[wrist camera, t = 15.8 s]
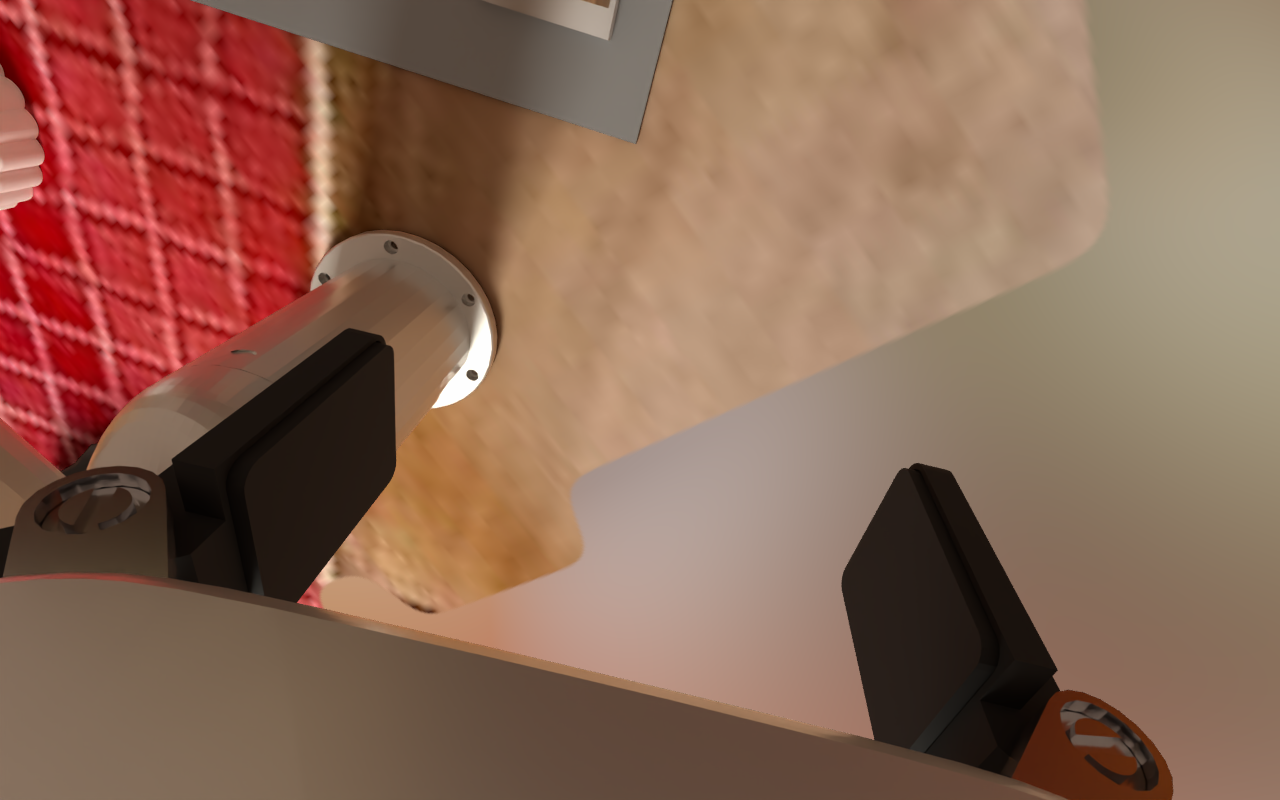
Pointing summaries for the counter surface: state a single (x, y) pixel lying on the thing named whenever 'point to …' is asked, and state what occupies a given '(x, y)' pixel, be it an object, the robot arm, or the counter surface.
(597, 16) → the wooden stand
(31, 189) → the mooncake
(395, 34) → the mat
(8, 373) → the counter surface
